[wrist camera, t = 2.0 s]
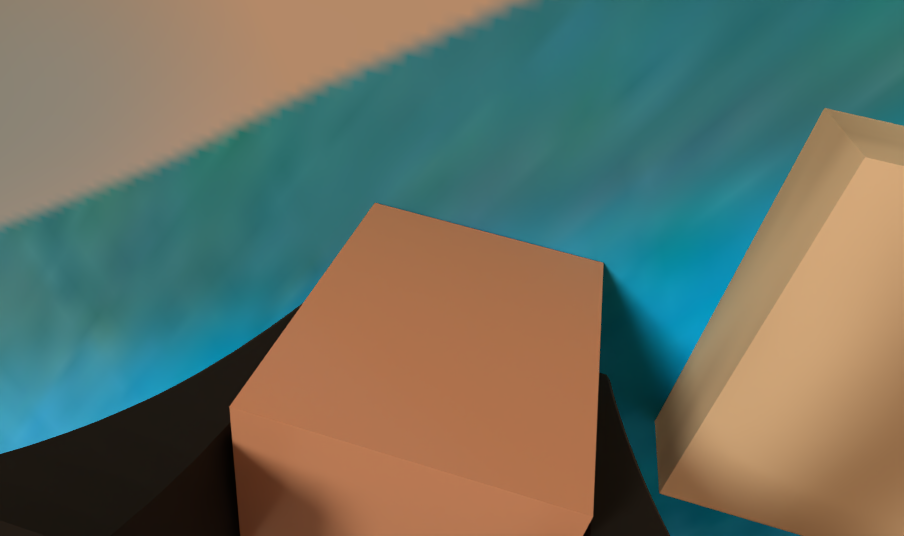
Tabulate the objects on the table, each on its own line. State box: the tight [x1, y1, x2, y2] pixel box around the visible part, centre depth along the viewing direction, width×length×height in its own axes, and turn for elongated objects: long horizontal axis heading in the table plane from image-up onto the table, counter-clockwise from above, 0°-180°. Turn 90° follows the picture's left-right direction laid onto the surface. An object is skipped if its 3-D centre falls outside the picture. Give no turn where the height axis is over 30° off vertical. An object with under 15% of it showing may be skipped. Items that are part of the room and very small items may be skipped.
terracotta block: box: [229, 203, 603, 536], centre depth 12 cm, size 5×5×6 cm
